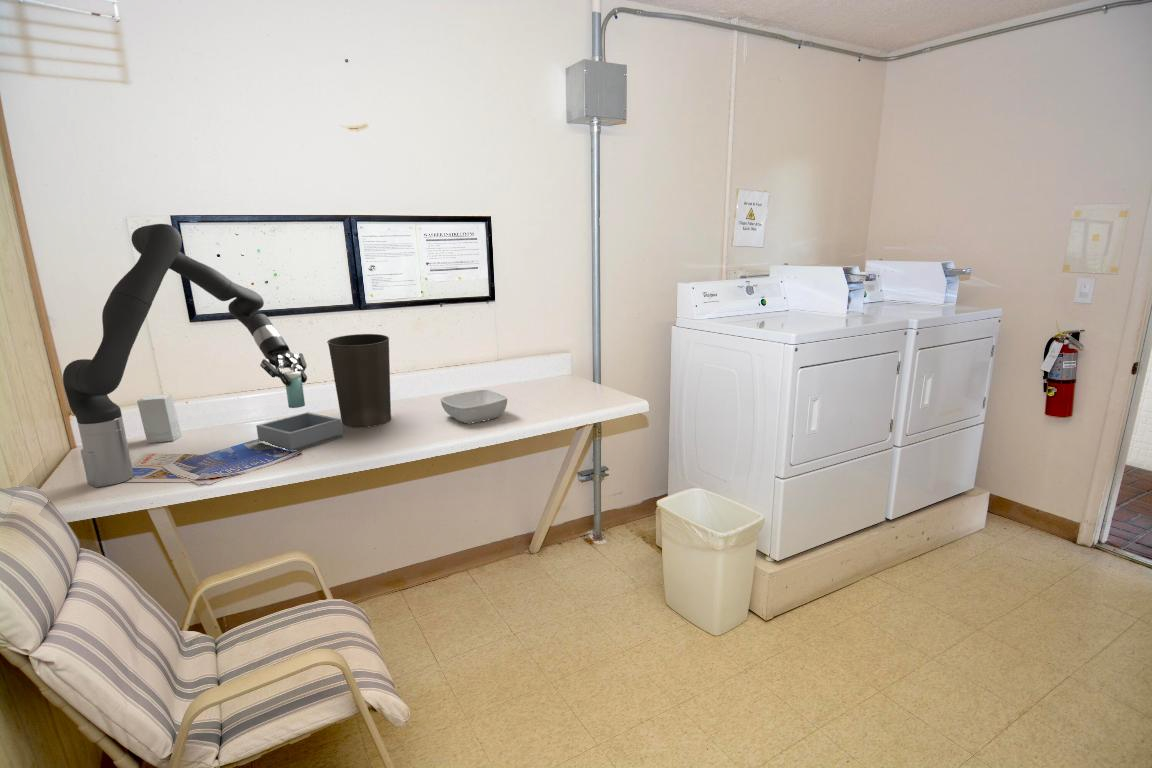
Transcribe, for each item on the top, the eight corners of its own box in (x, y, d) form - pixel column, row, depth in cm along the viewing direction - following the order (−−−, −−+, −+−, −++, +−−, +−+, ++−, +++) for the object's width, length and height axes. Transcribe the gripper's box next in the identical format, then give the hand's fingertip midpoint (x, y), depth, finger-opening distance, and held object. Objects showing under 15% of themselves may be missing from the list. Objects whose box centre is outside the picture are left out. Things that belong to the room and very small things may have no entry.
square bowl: (461, 429, 197) (459, 407, 196) (437, 416, 213) (435, 396, 212) (513, 418, 209) (512, 398, 207) (486, 407, 225) (485, 388, 224)
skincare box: (181, 436, 195) (174, 393, 192) (173, 441, 189) (165, 397, 186) (154, 438, 193) (146, 395, 190) (144, 443, 188) (136, 399, 184)
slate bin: (291, 452, 177) (289, 433, 175) (258, 443, 186) (256, 425, 185) (342, 436, 191) (340, 419, 190) (309, 428, 201) (307, 412, 199)
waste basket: (399, 427, 200) (392, 342, 193) (336, 435, 193) (326, 346, 186) (393, 409, 225) (386, 332, 218) (337, 415, 217) (328, 336, 211)
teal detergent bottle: (294, 408, 183) (289, 374, 180) (285, 406, 185) (280, 373, 183) (308, 405, 187) (303, 372, 184) (299, 403, 189) (295, 370, 187)
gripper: (252, 338, 179) (279, 379, 175) (295, 332, 191) (321, 371, 187) (245, 353, 183) (271, 394, 179) (287, 346, 195) (313, 385, 191)
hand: (297, 382), depth 183 cm, fingers closed on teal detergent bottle, 4 cm apart
